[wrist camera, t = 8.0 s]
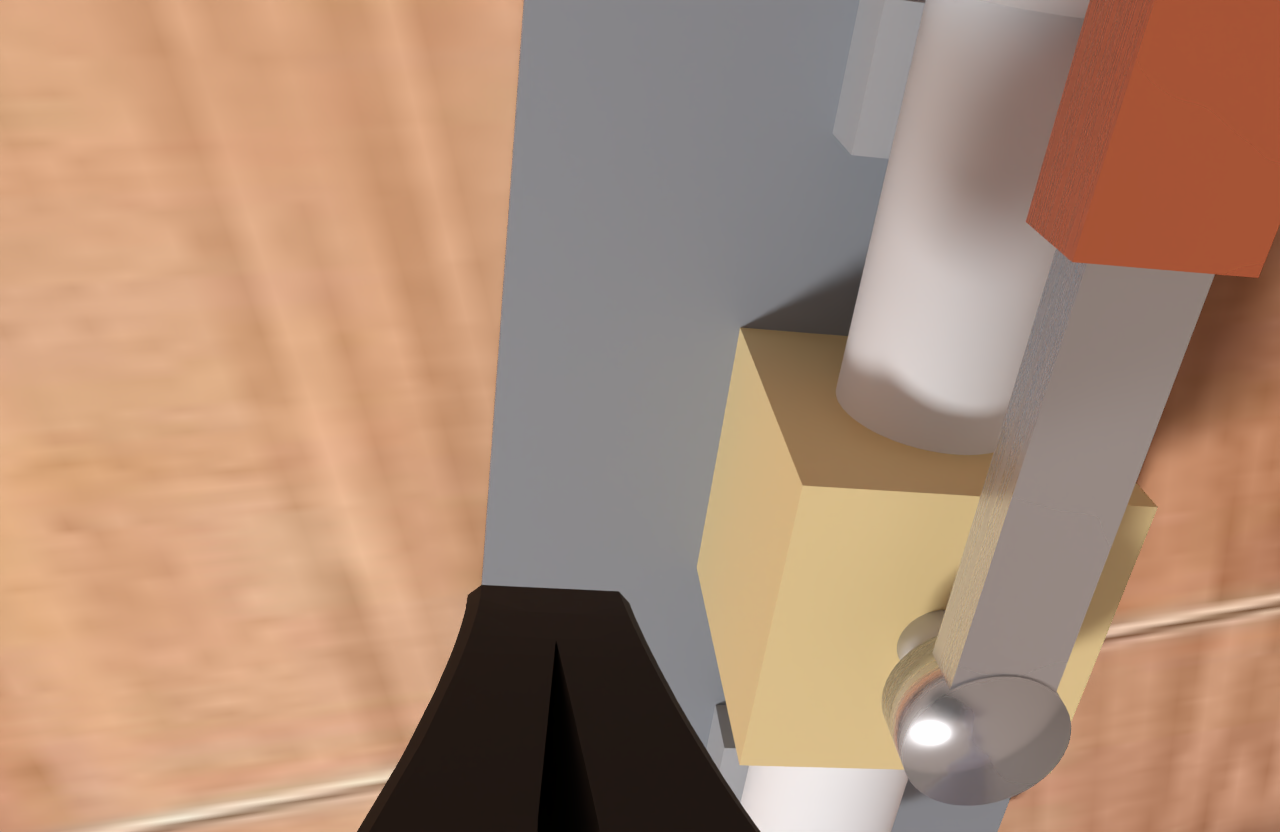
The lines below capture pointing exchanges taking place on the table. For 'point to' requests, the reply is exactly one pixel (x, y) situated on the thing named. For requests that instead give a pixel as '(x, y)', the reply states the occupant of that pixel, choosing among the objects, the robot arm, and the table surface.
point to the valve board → (658, 290)
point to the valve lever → (1094, 367)
